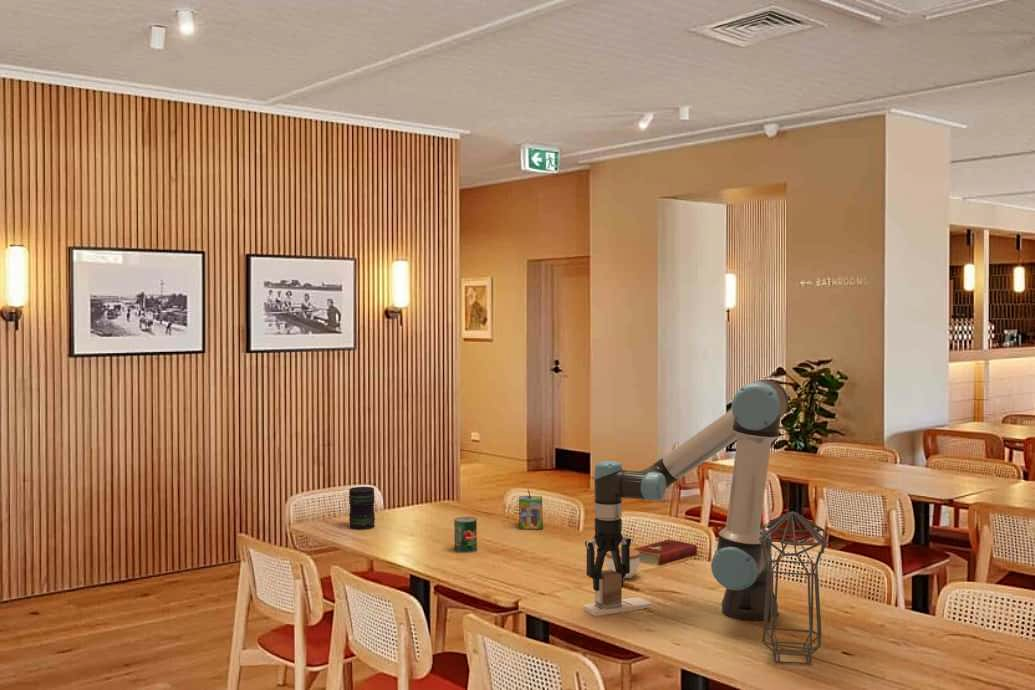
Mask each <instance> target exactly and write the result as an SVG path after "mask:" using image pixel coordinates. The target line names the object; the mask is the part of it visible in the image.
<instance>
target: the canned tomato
mask: <svg viewBox="0 0 1035 690" xmlns="http://www.w3.org/2000/svg"><path fill="white" fill-rule="evenodd" d="M453 520H454V521H453V522H454V523H453V525H454V526H453V527H454V534H453V535H454V552H456V553H460V554H470V553H471V554H472V553H475V552H477V551H478V533H477V531H478V528H477V527H478V526H477V524H478V523H477V521H478V520H477V518H476V517H474V516H459V517H456V518H454V519H453Z"/></svg>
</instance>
